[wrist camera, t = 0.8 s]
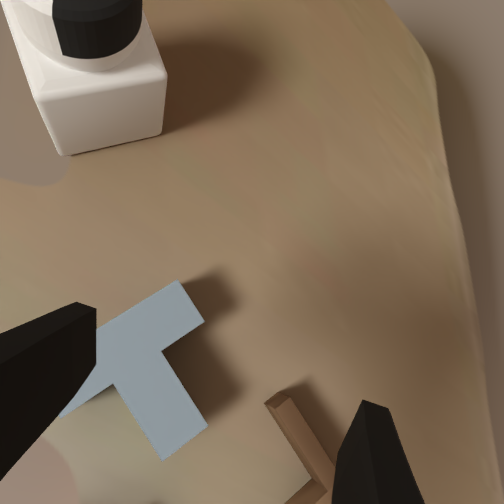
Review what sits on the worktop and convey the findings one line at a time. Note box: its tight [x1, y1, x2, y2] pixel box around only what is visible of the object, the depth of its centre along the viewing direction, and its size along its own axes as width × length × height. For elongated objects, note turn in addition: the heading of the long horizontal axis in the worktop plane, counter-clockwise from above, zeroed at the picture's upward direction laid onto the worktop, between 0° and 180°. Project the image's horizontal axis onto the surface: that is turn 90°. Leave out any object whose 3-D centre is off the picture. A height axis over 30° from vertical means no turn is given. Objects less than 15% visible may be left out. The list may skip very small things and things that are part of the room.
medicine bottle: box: [0, 0, 167, 156], centre depth 23 cm, size 7×7×12 cm
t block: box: [59, 279, 208, 461], centre depth 24 cm, size 9×8×4 cm
